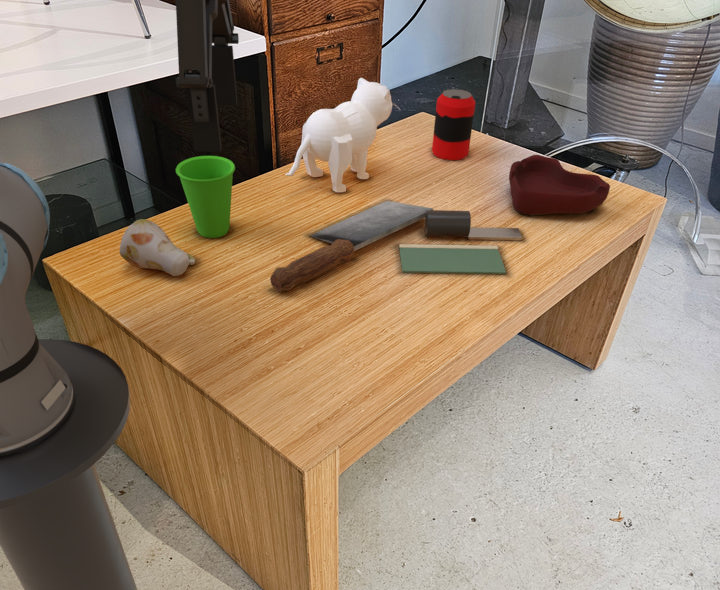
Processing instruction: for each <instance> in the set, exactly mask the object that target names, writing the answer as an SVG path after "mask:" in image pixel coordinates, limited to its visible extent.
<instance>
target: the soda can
mask: <svg viewBox="0 0 720 590" xmlns="http://www.w3.org/2000/svg"><path fill="white" fill-rule="evenodd" d="M475 110H476V101H475V99H474V97H473V95H472V93H471V92H469V91H467V90H464V89H456V88H454V89H446V90H443V91H442V93H441V94H440V95H439V96H438V98H437V99H436V108H435V116H434V127H433V135H432V137H433V138H432V145H431V152H432V154H433V155H434V156H435V157H437V158H438V159H442V160H445V161H459V160H463V159H465V158H466V157H467V156H468V155H469V153H470V145H471V139H472V138H471V137H472V132H473V131H472V130H473V124H474V116H475Z"/></svg>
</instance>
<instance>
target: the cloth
mask: <svg viewBox="0 0 720 590" xmlns="http://www.w3.org/2000/svg"><path fill="white" fill-rule="evenodd" d="M398 250H399V257H400V265H401V273H403V274H442V275H443V274H451V275H452V274H456V275H464V274H465V275H507V271H506V268H505V265H504V262H503V259H502V255H501V253H500V250H499V247H498V245H487V244H486V245H483V244H482V245H481V244H479V245H478V244H422V243H421V244H417V243H416V244H415V243H412V244H411V243H409V244H408V243H406V244H405V243H399V244H398Z"/></svg>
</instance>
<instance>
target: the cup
mask: <svg viewBox="0 0 720 590" xmlns="http://www.w3.org/2000/svg"><path fill="white" fill-rule="evenodd" d="M235 171H236V166H235V163H233V161H232V160H230V159H228V158H226V157H222V156H218V155H200V156H193V157H190V158H187V159H184V160H183V161H181V162H179V163H178V164H177V166H176V168H175V173H176V175H177V176H178V177H179V180H180V182H181V187H182V189H183V192H184V195H185V198H186V201H187V204H188V207H189V209H190V214H191V217H192V219H193V222H194V225H195V228H196V231H197V233H198V234H199V235H200V236H202V237H204V238H206V239H207V238H208V239H216V238H220V237H223V236H225V235H227V234H228V233H229V230H230V227H231V225H230V223H231V209H232V191H233V177H234V176H233V175H234V172H235Z"/></svg>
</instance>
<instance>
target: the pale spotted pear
mask: <svg viewBox="0 0 720 590" xmlns="http://www.w3.org/2000/svg"><path fill="white" fill-rule="evenodd" d="M119 255H120V256H121V258H123V260H124V261H125V262H127V263H129V264H130V265H132V266H134V267H138V268H142V269H153V270H159V271H162V272H164V273H166V274H168V275H170V276H172V277H178V276H181V275H184V273H185V272H186V271H187V269H188V267H189V266H192V265H193V266H194V265H195V264H196V258H194V256H193V255H191V254H189V253H187V252H186V251H184V250H182V249H181V248H179V247H177V246H176V245H175V243H173V241H172V240H171V239H170V238H169V236H168V234H166V232H165V231H164V230H163V228H162V227H160V225H158V224H157V223H156V222H153V221H152V220H149V219H145V218H144V219H143V218H141V219H137V220H135V221H134V222H133V223H131V224H130V225H129V226H128V227H127V228H126V229H125V231H124V233H123V235H122V237H121V241H120V244H119Z"/></svg>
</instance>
